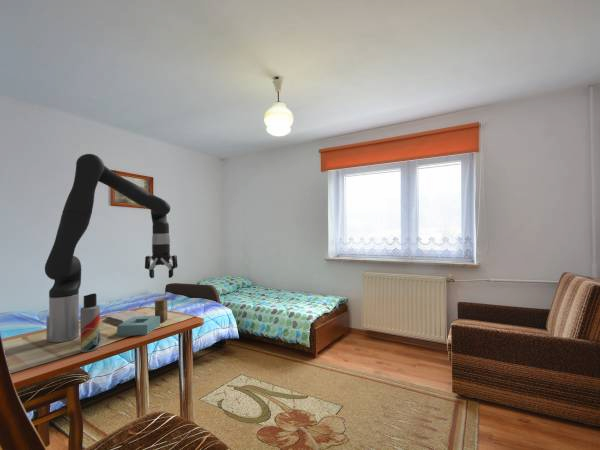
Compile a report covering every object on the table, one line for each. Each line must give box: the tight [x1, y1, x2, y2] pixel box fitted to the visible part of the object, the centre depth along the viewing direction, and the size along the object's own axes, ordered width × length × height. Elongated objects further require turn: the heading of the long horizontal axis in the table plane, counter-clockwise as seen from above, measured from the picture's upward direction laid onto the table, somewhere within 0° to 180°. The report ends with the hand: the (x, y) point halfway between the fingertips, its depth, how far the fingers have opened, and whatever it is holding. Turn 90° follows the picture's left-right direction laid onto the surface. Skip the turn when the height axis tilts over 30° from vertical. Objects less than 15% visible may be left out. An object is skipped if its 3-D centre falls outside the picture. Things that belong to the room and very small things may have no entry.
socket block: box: [116, 315, 161, 337], centre depth 124 cm, size 12×12×4 cm
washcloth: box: [105, 309, 148, 325], centre depth 140 cm, size 12×18×3 cm, turn 59°
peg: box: [154, 298, 168, 323], centre depth 136 cm, size 4×4×10 cm
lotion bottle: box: [79, 292, 101, 353], centre depth 104 cm, size 6×6×20 cm
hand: (161, 277), depth 135 cm, fingers open, 8 cm apart
